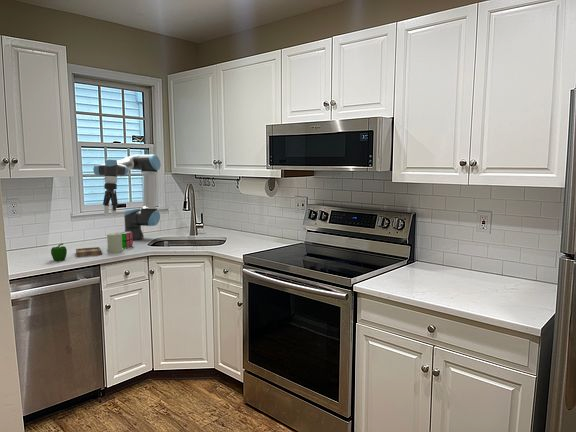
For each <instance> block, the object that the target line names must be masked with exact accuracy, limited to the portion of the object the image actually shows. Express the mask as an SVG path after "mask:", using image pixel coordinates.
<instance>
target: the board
mask: <svg viewBox="0 0 576 432" xmlns="http://www.w3.org/2000/svg"><path fill="white" fill-rule="evenodd" d="M102 253H103V252H102V249H101V248H100V246H98V247H97V246H96V247H94V246H93V247H83V248H75V254H76V257H77V258H81V257H93V256H94V257H95V256H101V255H103V254H102Z"/></svg>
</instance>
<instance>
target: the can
mask: <svg viewBox="0 0 576 432" xmlns="http://www.w3.org/2000/svg"><path fill="white" fill-rule="evenodd" d="M106 236H107V253H109V254H110V253H111V254H117V253H122V252H123V251H124V249H123V248H122V234H121V233H116V232H113V233H107V234H106Z"/></svg>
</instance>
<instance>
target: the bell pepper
mask: <svg viewBox="0 0 576 432" xmlns="http://www.w3.org/2000/svg"><path fill="white" fill-rule="evenodd" d="M50 253H51V258H52V259H53V261H55V262H56V261H57V262H60V261H63V260H65V259H66V258H67V253H68V250H67V247H66V246H64V243H59V244H58V246H56V247H55V246H53V247H52V248H51V250H50Z"/></svg>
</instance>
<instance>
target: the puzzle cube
mask: <svg viewBox="0 0 576 432" xmlns="http://www.w3.org/2000/svg"><path fill="white" fill-rule="evenodd" d="M115 233H121V234H122V249H128V248H130V247H132V245H133V246H134V243H133V241H134V240H133V239H132V232H124V231H117V232H115Z"/></svg>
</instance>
